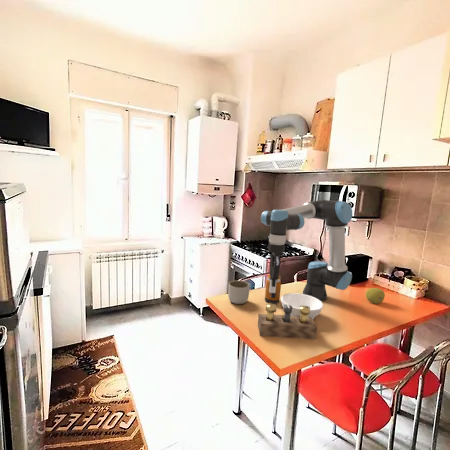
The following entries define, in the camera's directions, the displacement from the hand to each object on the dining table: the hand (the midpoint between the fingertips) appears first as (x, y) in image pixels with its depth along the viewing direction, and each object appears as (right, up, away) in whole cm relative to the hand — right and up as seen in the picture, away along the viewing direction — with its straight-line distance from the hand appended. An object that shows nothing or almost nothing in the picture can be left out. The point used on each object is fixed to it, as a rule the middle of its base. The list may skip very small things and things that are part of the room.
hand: (272, 292), depth 128 cm
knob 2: (+15, -17, +2) cm, 23 cm away
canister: (+6, -15, +37) cm, 41 cm away
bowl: (+19, -18, +22) cm, 34 cm away
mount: (+7, -20, +3) cm, 21 cm away
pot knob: (+7, -16, +2) cm, 18 cm away
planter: (-15, -14, +35) cm, 40 cm away
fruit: (+73, -18, +46) cm, 89 cm away
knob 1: (-1, -16, +2) cm, 16 cm away
